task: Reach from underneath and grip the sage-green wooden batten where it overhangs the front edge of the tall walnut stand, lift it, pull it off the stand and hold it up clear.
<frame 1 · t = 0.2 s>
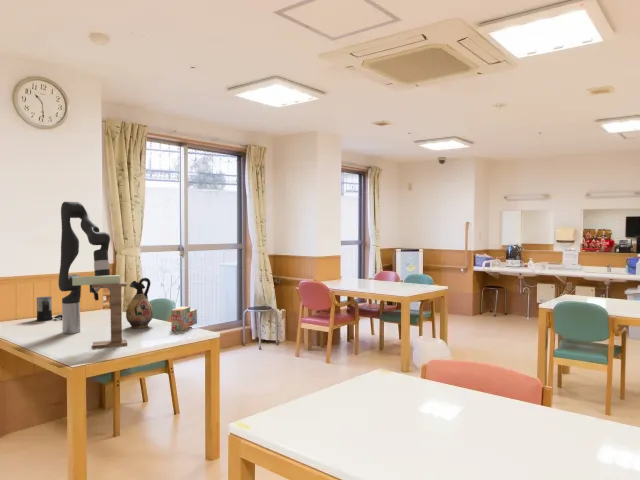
hand: (104, 299, 265), 22 cm above the table, tool pointing down, fingers open, 8 cm apart
milk frother: (51, 319, 325), on the table
sage batten: (96, 284, 253), point 32 cm above the table, touching walnut stand
walnut stand: (110, 345, 257), on the table
ceramic jug: (141, 327, 303), on the table
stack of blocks: (184, 327, 303), on the table
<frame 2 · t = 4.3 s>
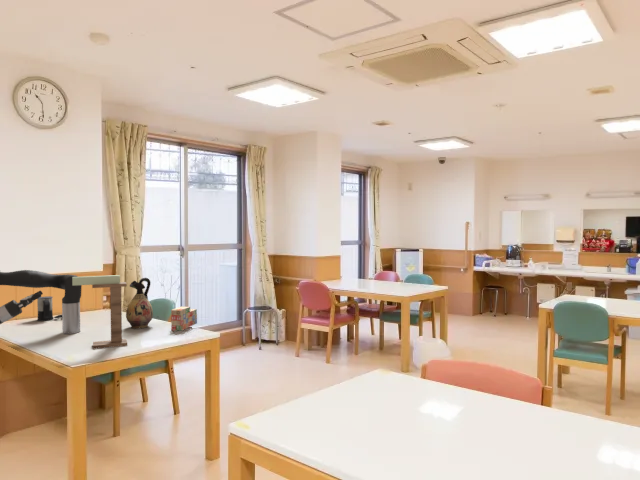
hand: (41, 293, 249), 28 cm above the table, tool pointing upward, fingers open, 8 cm apart
nothing on the table moved.
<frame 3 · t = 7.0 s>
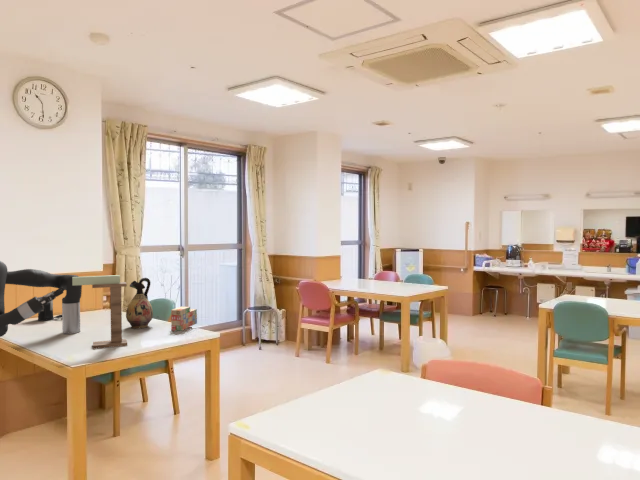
hand: (62, 289, 247), 30 cm above the table, tool pointing upward, fingers open, 8 cm apart
nothing on the table moved.
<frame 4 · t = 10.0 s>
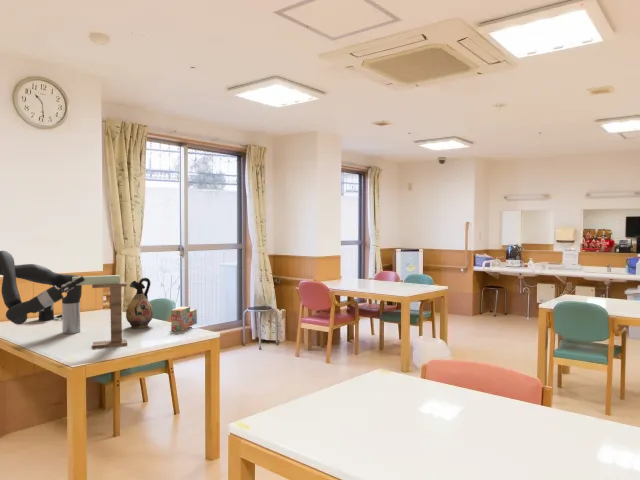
hand: (83, 277, 251), 35 cm above the table, tool pointing upward, fingers closed on sage batten, 3 cm apart
sage batten: (96, 284, 253), point 32 cm above the table, touching gripper, walnut stand
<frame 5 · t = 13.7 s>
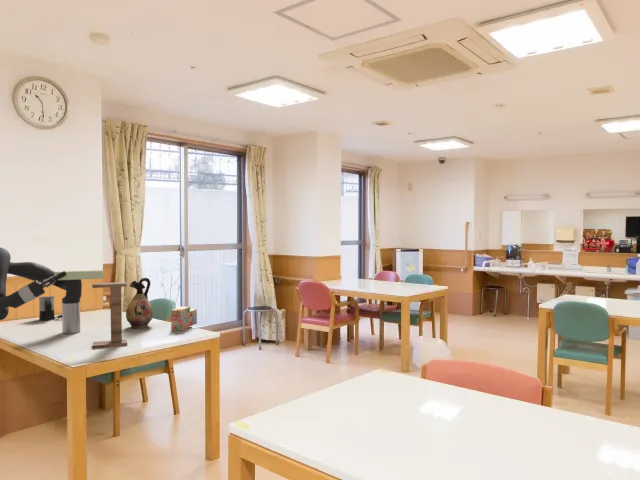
hand: (65, 272, 247), 38 cm above the table, tool pointing upward, fingers closed on sage batten, 3 cm apart
sage batten: (79, 279, 250), point 35 cm above the table, touching gripper
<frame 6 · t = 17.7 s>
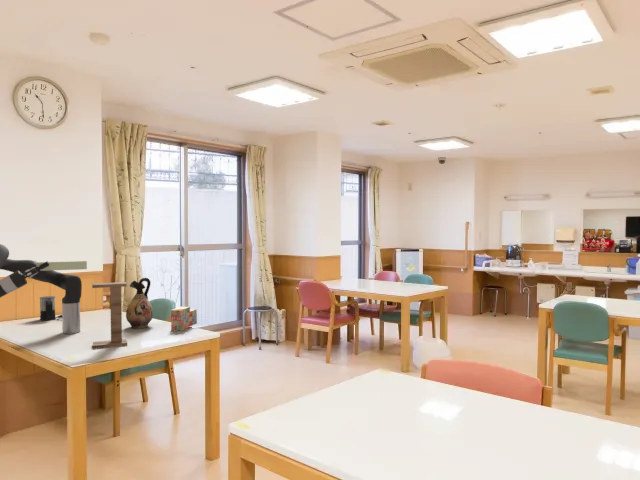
hand: (48, 263, 244), 43 cm above the table, tool pointing upward, fingers closed on sage batten, 3 cm apart
sage batten: (62, 269, 246), point 40 cm above the table, touching gripper
at the end: the gripper is holding sage batten; sage batten touching gripper; sage batten inside the target area (0.0 cm from its centre), point 39.9 cm above the table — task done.
